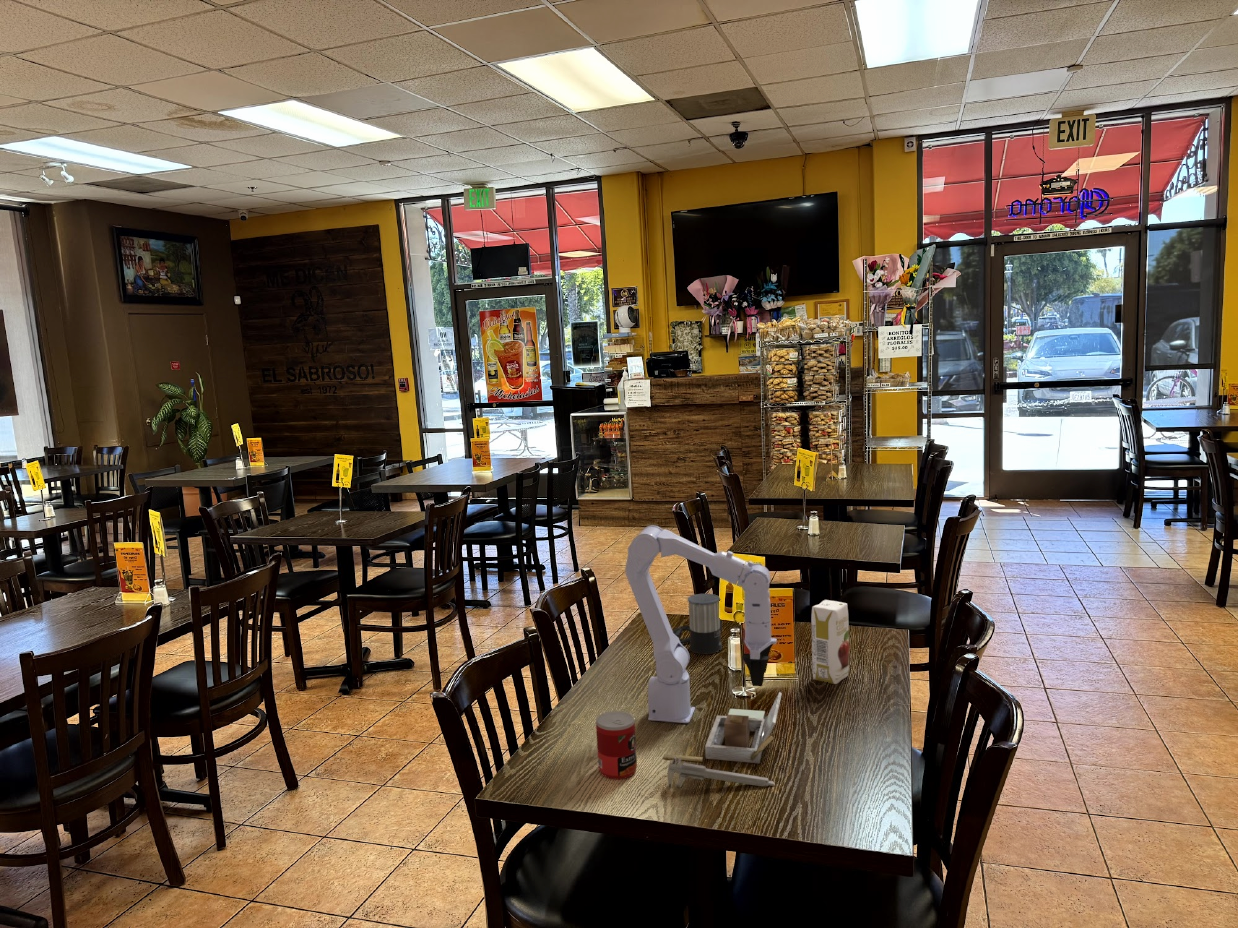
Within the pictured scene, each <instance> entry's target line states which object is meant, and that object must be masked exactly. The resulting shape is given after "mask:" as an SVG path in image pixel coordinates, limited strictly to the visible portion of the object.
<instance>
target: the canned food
mask: <svg viewBox="0 0 1238 928" xmlns="http://www.w3.org/2000/svg"><path fill="white" fill-rule="evenodd" d="M635 722H636V720H635V717H634V715H632V714H631V713H630V712H627V711H624V710H623V711H621V710H611V711H606V712H603V713H601V714H599V715H598V716H596V719H595V724H596V725H595V728H596V729H595V731H596V745H597V746H596V747H597V762H598V764H597V765H598V770H599V772H600V773H599V774H601V775H602V776H603V777H605V778H607V779H611V780H622V779H628V778H630V777H632V776H634V774H635V773H636V771H637V767H638V763H637V762H638V761H637V759H638V758H637V741H636V740H637V739H636V723H635Z"/></svg>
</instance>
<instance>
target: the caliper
mask: <svg viewBox="0 0 1238 928" xmlns="http://www.w3.org/2000/svg"><path fill="white" fill-rule="evenodd" d="M669 761H670V762H669V764H668V767H667V768H668V769H667V784H668V787H669V788H670V789H671V788H672V785H673V780H674V776H675V774H679V776H678V779H677V788H678V789H680V788H679V787H682V786H683V785H684V782H685V780H686V779H687V778H690V779H692V780H694V781H701V782H703V781H704V780H705V779H711V780H712V779H713V780H718V781H724V782H730V783H737V784H743V785H750V786H755V787H768V786H771V787H776V784H775V782H774V781H772V780H769V778H768V777H763V776H757V775H750V774H743V773H740V772H739V773H738V772H731V771H726V770H720V769H719V770H718V769H713V768H712V769H711V768H706V766H705V765H700V764H694V763H688V762H682V760H681V757H680V758H679V759H678V760H676V757H675V756H674V759H672V760H669ZM681 762H682V763H681Z"/></svg>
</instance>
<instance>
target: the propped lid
mask: <svg viewBox="0 0 1238 928" xmlns="http://www.w3.org/2000/svg"><path fill="white" fill-rule="evenodd" d="M782 694H783V693H782V692H781V691H779V692H778V694H777V696H776V698H775V700H774V702H773V705H772V706H771V708H770V710H769V713H768V715H766V716H764V719H765V720H764V724H763V728H762V732H761V736H760V740H759V744H758V748H757V750H756V752H755V753H754V754H753V755H752V756H751V757H750V759H751V760H752V761H753V760H754V759H755V758H756V757H757V756H758V755H759V753H760V752H761V751H762V750H765V748H766V747H767V746H768V745H769V744H771V741H773V740H774V738H775V737H774V736H772V735H771V733H772V731H773V729H774V728H775V727H774V726H775V725H776V722H777V717H778V713H779V709H780V703H781V698H782ZM762 752H763V751H762Z"/></svg>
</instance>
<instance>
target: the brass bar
mask: <svg viewBox="0 0 1238 928" xmlns="http://www.w3.org/2000/svg"><path fill="white" fill-rule="evenodd" d="M674 756H675V757H676V761H678V759H679V758H680V757H681V761H687V762H688V761H689V762H701V763H702V762H703V761H704V760H703V759H704V757H703V756H702V757H701V756H692V755H681V754H669V753H664V755H663V759H666V760H674Z"/></svg>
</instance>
